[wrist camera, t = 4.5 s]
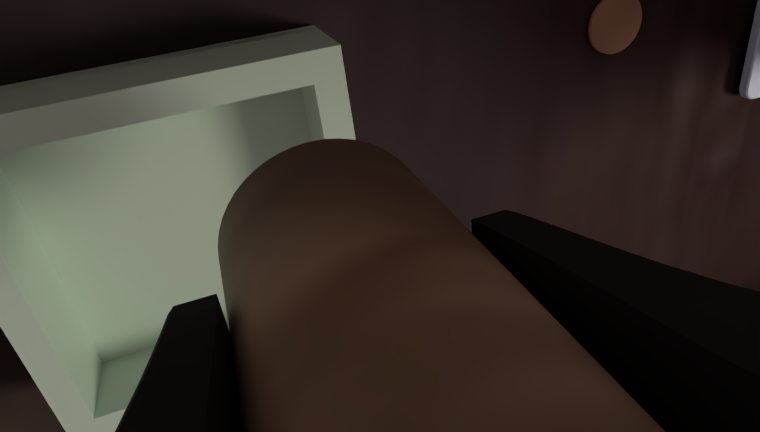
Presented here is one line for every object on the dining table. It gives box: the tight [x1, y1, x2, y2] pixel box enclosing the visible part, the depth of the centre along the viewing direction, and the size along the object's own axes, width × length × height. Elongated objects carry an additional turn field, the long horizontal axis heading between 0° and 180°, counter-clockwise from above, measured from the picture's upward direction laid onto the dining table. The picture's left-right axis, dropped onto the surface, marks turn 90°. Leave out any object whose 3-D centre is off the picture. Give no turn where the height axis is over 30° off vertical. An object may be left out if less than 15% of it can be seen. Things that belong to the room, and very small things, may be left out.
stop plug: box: [218, 138, 665, 432], centre depth 7 cm, size 4×4×7 cm
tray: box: [0, 25, 355, 432], centre depth 16 cm, size 10×10×3 cm
